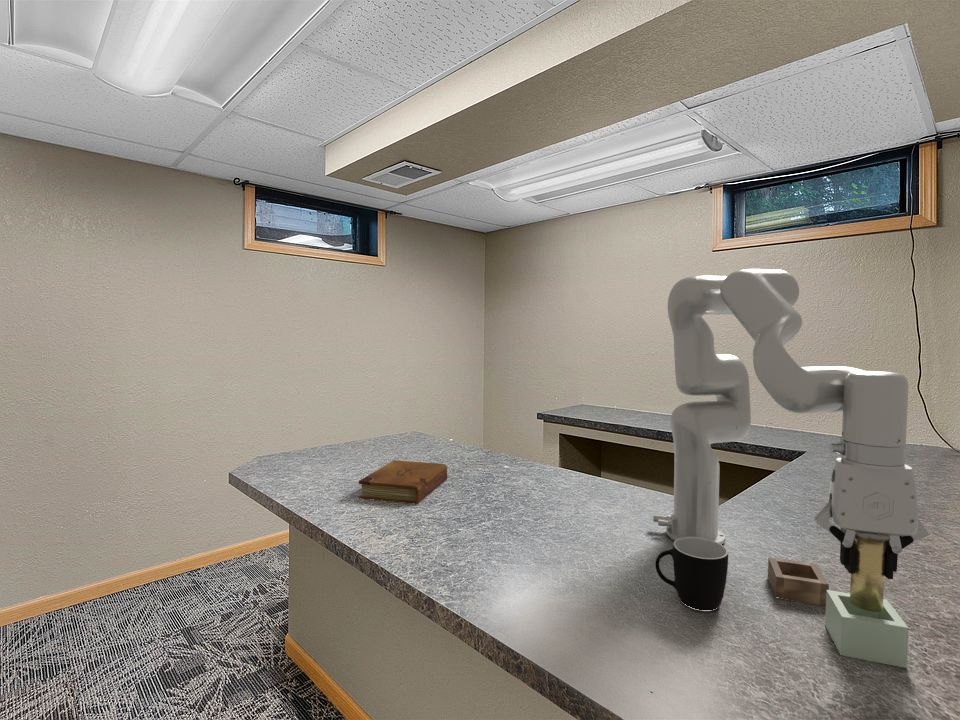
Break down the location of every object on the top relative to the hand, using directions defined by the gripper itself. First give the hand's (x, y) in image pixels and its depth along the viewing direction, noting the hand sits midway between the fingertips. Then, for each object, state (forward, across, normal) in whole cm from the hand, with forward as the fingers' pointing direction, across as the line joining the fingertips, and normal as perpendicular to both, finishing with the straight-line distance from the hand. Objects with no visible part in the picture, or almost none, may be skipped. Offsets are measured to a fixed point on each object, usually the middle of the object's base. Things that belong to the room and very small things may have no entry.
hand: (867, 571), depth 76 cm
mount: (+12, -6, +15) cm, 20 cm away
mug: (+12, -25, +5) cm, 28 cm away
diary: (+12, -104, +42) cm, 112 cm away
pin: (+5, 0, 0) cm, 5 cm away
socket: (+12, 0, 0) cm, 12 cm away
